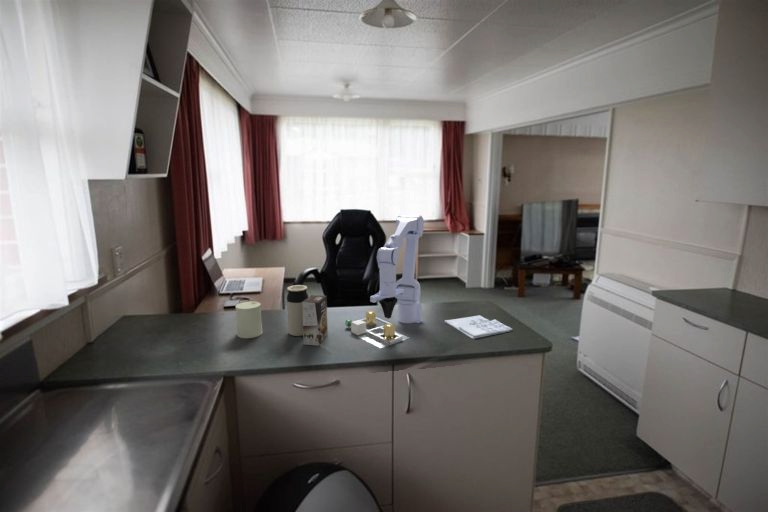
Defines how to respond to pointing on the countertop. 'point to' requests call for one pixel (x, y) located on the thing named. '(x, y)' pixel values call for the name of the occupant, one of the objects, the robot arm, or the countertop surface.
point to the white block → (358, 327)
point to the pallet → (381, 337)
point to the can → (249, 319)
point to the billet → (370, 318)
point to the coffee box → (314, 319)
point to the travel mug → (296, 308)
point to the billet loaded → (389, 331)
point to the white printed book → (478, 326)
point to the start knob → (348, 322)
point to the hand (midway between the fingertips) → (387, 317)
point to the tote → (377, 319)
